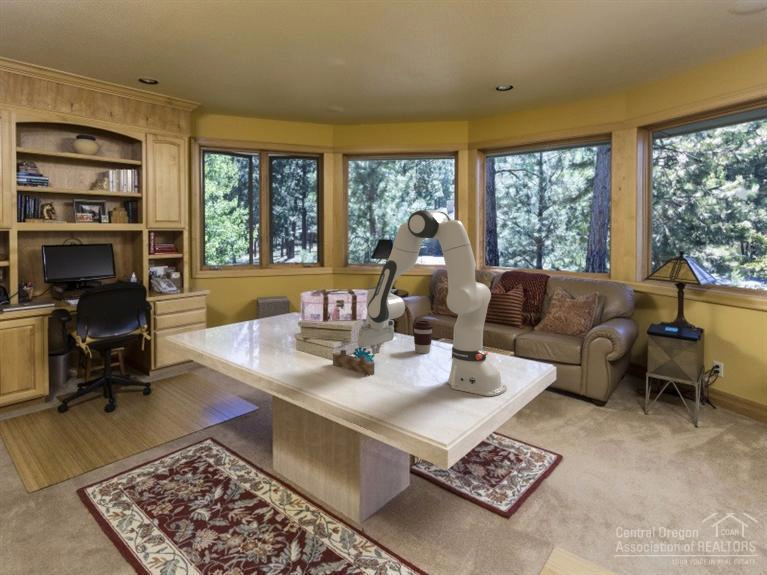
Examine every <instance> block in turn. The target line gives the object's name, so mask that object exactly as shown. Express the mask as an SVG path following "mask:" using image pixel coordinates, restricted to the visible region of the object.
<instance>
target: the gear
mask: <svg viewBox="0 0 767 575" xmlns="http://www.w3.org/2000/svg"><path fill="white" fill-rule="evenodd" d="M352 354H353V355H354V356H353V357H357V358H360V356H361V355H365V356H366V360H367V361H371V362H374V359H373V358H374V357H375V356H376V354H373V353H372V354H371V351H370V350H368V351H367V347H364V348H363V347H359V346H358V347H356V348H355V349H354V351H353V353H352ZM374 363H375V362H374Z"/></svg>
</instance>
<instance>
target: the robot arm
mask: <svg viewBox="0 0 767 575" xmlns="http://www.w3.org/2000/svg"><path fill="white" fill-rule="evenodd" d="M465 228H466V227H465V226H464V224H463V223H462V222H461V220H457V219H452V218H451V217H450V216H449V215H448V214H447V213H446V212H443V211H437V210H434V209H420V210H416V211H414V212H413V213H412V214H410V216H409V217H408V220H407V221H405V222H403V223H401V225H399V227H398V229H397V232H396V234H395V238H394V240H393V245H392V249H391V252H390V255H389V257H388V259H387V261H386V262H385V263H384V266H383V268H382V269H381V272H380V275H379V278H378V281H377V283H376V287H371V288H369V289H367V293H366V305H365V306H366V317H365V318H366V320H365V323H366V324H364V325H361V326H360V328H359V330H358V335H357V343H356V344H357V346H358V348H359V347H361V348H362V349H364V348H367V347H370V348H371V352H372V355H373V354H374V355H376V354H380V349H381V348H382V344H383V343H386V342H390V341H391V342H392V341H393V340H394V339H395V338H394V337H395V326H394V325H395V321H394V320H393V319H397V318H399V317H402V316H403V315H405V311H406V303H405V300H404V299H403V298H402V297H401V296H398V295H396V294H393V293H392V292H391V291H392V288H393V285H394V284H395V282H396V280H397V279H398V278H399V277H400V276H401V275H403V274H404V273H406V272H408V271H409V270H411V269H413V267H415V265H416V263H417V261H418V258H419V256H420V255H419V254H420V250H421V246H422V243H423V241H424V240H425V239H428V240H429V239H431V240H432V239H436V240H438V242H439V244H440V248H441V252H442V255H443V259H444V264H445V268H446V273H447V285H448V286H447V289H448V293H447V296H446V306H447V308H448V310H450V311H451V312H452V313H453V314H456V315H457V318H456V320H455V321H456V322H455V323H454V326H453V342H452V347H451V359H452V360H451V367H450V373H449V376H448V379H447V383H448V385H449V386H450V389H452V390H456V391H460V392H461V391H462V392H467V393H471V394H476V395H481V396H486V397H495V396H498V395H501V394H503V393H505V392H506V391H507V390H508V386H507V384H506V383H502V377H501V373H500V371H499V370H498V369H497V368H496V366H494V365H493V364H492V363H491V362H490V361H489V360H488V359H487V355H489V351H485V350H484V348H483V344H484V343H483V339H484V327H485V322H486V317H487V313H488V307H489V303H490V302H491V298H492V292H491V290H490V288H489V287H488V285H486V284H484V283H481V282H478V281H476V267H477V264H476V263H477V262H476V260H475V256H474V251H473V249H472V244H471V241H470V238H469V235H468V233H467V229H465Z"/></svg>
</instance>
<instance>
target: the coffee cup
mask: <svg viewBox="0 0 767 575" xmlns="http://www.w3.org/2000/svg"><path fill="white" fill-rule="evenodd" d="M412 328H413V341H414V342H413V343H414V351H415V353H417V354H424V355H425V354H429V353H430V352H431V346H432V340H433V339H432V338H433V330H434V324H432V323H431V321H430V320H416V321H415V323H413V324H412Z"/></svg>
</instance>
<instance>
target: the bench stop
mask: <svg viewBox="0 0 767 575" xmlns="http://www.w3.org/2000/svg"><path fill="white" fill-rule="evenodd" d="M335 365H336V367H338V366H339V368H342V367H343V368H342V369H345V368H346V370H348V369H349V371H351V370H352V372H355V373H358V374H360V375H361V374H362V375H364V376H367V375H368V376H369V377H371V376H373V375H375V362H371V361H367V360H366V356H365V355H361V356H360V358H357V357H354V356H353V355H349V354H347V349H340V351H339V352H334V353H332V366H335ZM370 375H371V376H370Z"/></svg>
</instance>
